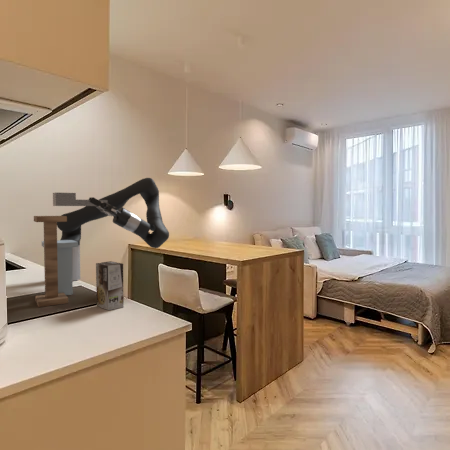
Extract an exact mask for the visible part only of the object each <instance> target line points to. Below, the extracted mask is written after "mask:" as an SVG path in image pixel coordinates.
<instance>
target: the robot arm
mask: <svg viewBox="0 0 450 450" xmlns="http://www.w3.org/2000/svg"><path fill="white" fill-rule="evenodd" d="M138 195H140V197H141V199H143V200H144V203H145V205H146V211H145V212H146V213H145V216H146V220H144V219H143V218H141V217H139V216H138V215H137V214H135V213H133V212H131V211H129V210H128V209H126V208H124V206H125V205H126V203H127V202H128V201H129V200H130V199H131V198H133V197H135V196H138ZM88 200H90V202H91V203H93V204H95V205H96V206H83V207H82V208H79V209H76V210H74V211H69V212H67V213H64V214H61V215H60V216H67V222H57V229H58V230H59V231H61V238H60V239H59V240H74V241H76V242H78V247H72V282H74V281H79V280H81V239H82V226H83V225H84V224H87V223H90V222H92V221H96V220H97V221H98V220H100V219H103V218H106V217H108V216H109V217H113V218H112V223H113V224H115V225H117V226H119V227H121V228H122V229H124V230H126V231H128V232H131V233H133V234H135V235H137V236H139V238H141V239H142V240H143V241H144V242H145V243H146V244H147V245H148V246H149V247H150V248H153V249H158V248H160V247H161V246H162V245H163V244H164V243H166V242H167V241H168V240H169V238H170V232H169V230H168V228H167V227H166V226H165V223H164V221H163V217H162V213H161V208H160V190H159V188H158V186H157V185H156V182H155V180H154V179H153V178H152V177H145V178H142V179H140V180H137V181H135V182H134V183H131V185H128V186H126V187H125V188H122V189H120V190H118V191H116V192H113V193H111V194H108V195H106V196H103V197H101V198H99V199H97V198H96V197H89V198H88ZM99 200H107V201H108V204H107V203H105V202H102V201H99ZM150 231H152V232H151V233H150Z"/></svg>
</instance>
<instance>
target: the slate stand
mask: <svg viewBox="0 0 450 450" xmlns="http://www.w3.org/2000/svg"><path fill="white" fill-rule="evenodd" d="M41 247H42V248H44V240H41ZM72 247H78V242H76V241H74V240H60V239H59V240H58V239H57V260H58V293H64V294H65V295H66V296H70V295H73V290H74V289H73V288H74V287H73V286H74V285H73V281H72Z"/></svg>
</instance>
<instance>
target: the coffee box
mask: <svg viewBox="0 0 450 450" xmlns="http://www.w3.org/2000/svg"><path fill="white" fill-rule="evenodd" d="M95 278H96V279H95V281H96V282H95V285H96V286H95V287H96V306H97V307H99V308H102V309H105V310H107V311H111V310H117V309H120V308H122V309H123V308H124V305H125V304H124V263H120V262H117V261H112V260H111V261H103V262H96V263H95Z"/></svg>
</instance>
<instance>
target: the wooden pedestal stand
mask: <svg viewBox="0 0 450 450" xmlns="http://www.w3.org/2000/svg"><path fill="white" fill-rule="evenodd" d="M33 222H36V223H43V241H44V247H43V253H44V254H43V255H44V256H43V258H44V260H43V261H44V294H39V295H35V303H36V305H37V308H41V307H42V308H43V307H50V306H56V305H63V304H69V297H68V295H65V294H64V293H58V260H57V240H58V227H57V222H67V216H61V215H34V216H33Z"/></svg>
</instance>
